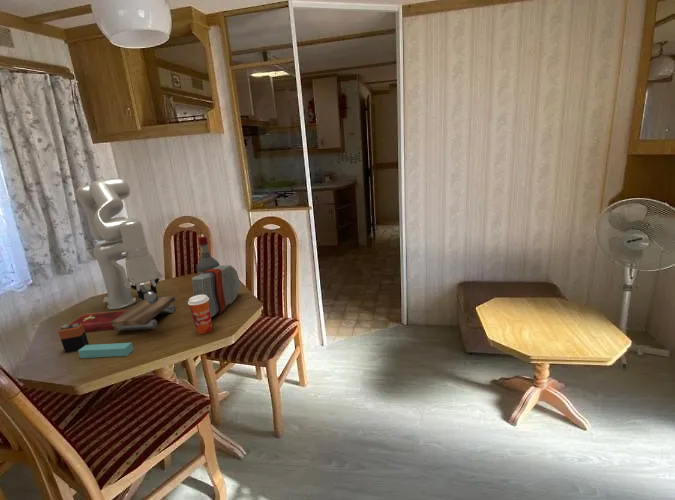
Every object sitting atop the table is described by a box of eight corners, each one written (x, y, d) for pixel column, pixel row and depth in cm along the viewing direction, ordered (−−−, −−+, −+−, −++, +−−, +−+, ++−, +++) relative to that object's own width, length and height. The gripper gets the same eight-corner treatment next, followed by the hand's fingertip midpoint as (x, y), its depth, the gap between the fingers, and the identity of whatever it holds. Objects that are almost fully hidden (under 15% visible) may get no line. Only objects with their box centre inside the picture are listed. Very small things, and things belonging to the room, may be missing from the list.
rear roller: (138, 315, 164) (138, 306, 164) (143, 314, 167) (143, 306, 168) (170, 313, 162) (170, 304, 163) (174, 312, 166) (174, 304, 167)
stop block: (80, 358, 132) (77, 350, 131) (88, 352, 136) (85, 345, 135) (126, 355, 130) (124, 348, 129) (133, 349, 134) (131, 342, 133)
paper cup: (195, 337, 139) (188, 303, 135) (193, 329, 145) (186, 297, 142) (216, 331, 142) (210, 298, 138) (213, 324, 149) (207, 292, 145)
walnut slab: (112, 326, 146) (110, 322, 146) (146, 302, 169) (145, 298, 169) (145, 324, 145) (143, 320, 144) (175, 300, 168) (174, 296, 167)
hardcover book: (116, 330, 153) (114, 321, 152) (67, 335, 153) (64, 325, 152) (131, 317, 164) (129, 309, 163) (85, 322, 165) (83, 313, 164)
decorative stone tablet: (203, 276, 145) (238, 260, 174) (188, 277, 146) (226, 260, 175) (209, 322, 148) (243, 299, 177) (195, 322, 150) (231, 299, 178)
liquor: (218, 291, 186) (206, 234, 178) (227, 295, 179) (215, 236, 171) (201, 297, 179) (188, 238, 171) (209, 301, 173) (197, 240, 165)
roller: (158, 301, 139) (157, 292, 138) (148, 304, 137) (146, 295, 136) (149, 292, 150) (147, 283, 149) (138, 294, 148) (137, 286, 147)
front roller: (118, 332, 150) (116, 324, 149) (124, 327, 154) (122, 319, 153) (153, 330, 149) (150, 322, 148) (158, 326, 153) (155, 317, 151)
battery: (70, 347, 141) (62, 324, 138) (89, 343, 142) (82, 320, 139) (64, 353, 137) (56, 329, 134) (84, 349, 138) (77, 325, 135)
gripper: (114, 260, 131) (127, 307, 136) (163, 249, 141) (173, 293, 146) (110, 256, 136) (122, 301, 141) (157, 246, 146) (167, 288, 151)
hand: (148, 297), depth 143 cm, fingers closed on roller, 3 cm apart
